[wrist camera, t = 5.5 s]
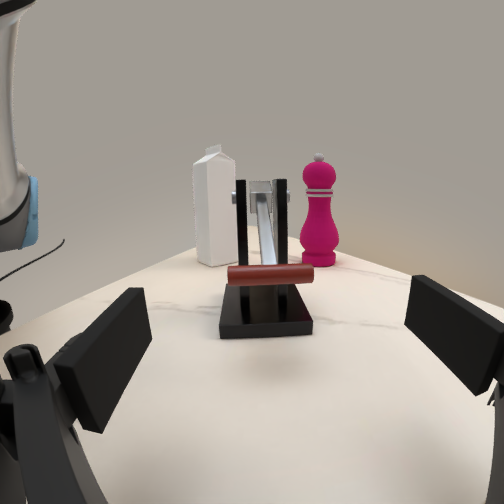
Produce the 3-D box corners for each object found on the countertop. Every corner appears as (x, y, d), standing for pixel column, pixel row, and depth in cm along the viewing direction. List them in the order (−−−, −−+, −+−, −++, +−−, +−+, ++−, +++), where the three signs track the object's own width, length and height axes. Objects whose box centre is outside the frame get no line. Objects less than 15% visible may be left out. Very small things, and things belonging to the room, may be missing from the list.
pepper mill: (301, 256, 57) (300, 155, 52) (337, 258, 55) (338, 155, 51) (297, 266, 50) (296, 151, 46) (338, 268, 48) (339, 151, 44)
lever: (311, 291, 21) (316, 266, 19) (229, 295, 21) (226, 270, 19) (286, 199, 32) (287, 180, 30) (232, 201, 32) (231, 181, 30)
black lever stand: (312, 334, 27) (316, 177, 24) (220, 338, 27) (210, 180, 23) (293, 291, 39) (293, 180, 35) (226, 294, 39) (221, 182, 35)
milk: (211, 267, 51) (205, 143, 46) (197, 261, 56) (190, 148, 51) (239, 261, 55) (235, 144, 50) (223, 255, 60) (218, 148, 55)
